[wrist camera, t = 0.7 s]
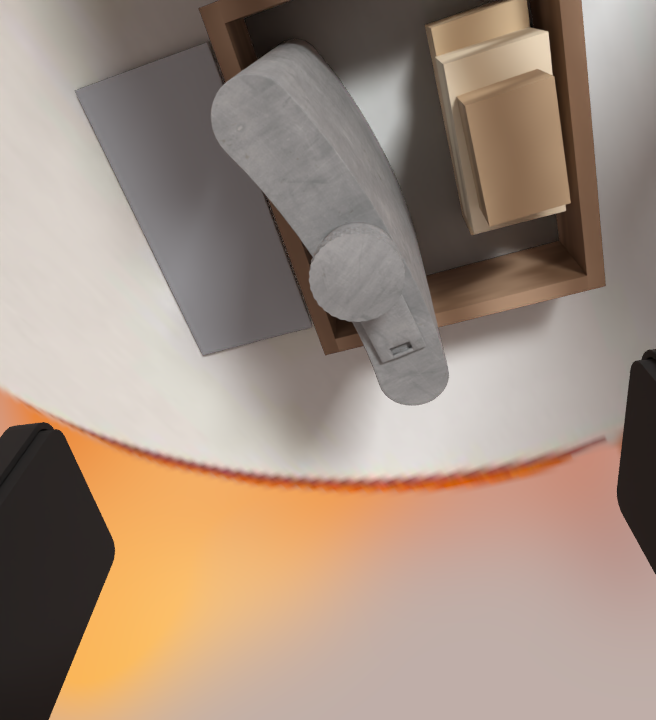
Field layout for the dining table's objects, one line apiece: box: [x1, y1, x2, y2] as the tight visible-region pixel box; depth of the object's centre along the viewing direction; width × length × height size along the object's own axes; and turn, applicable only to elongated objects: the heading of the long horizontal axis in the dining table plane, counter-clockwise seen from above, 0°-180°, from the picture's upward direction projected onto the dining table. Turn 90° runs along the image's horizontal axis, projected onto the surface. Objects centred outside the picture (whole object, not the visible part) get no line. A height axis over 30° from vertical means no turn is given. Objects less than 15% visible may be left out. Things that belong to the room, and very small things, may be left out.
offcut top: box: [456, 69, 571, 226], centre depth 30 cm, size 4×6×3 cm, turn 18°
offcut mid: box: [435, 27, 566, 235], centre depth 33 cm, size 5×9×4 cm, turn 17°
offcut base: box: [425, 0, 530, 235], centre depth 36 cm, size 5×12×4 cm, turn 17°
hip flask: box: [211, 39, 449, 405], centre depth 31 cm, size 16×4×20 cm, turn 31°
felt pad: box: [75, 42, 312, 355], centre depth 42 cm, size 9×20×1 cm, turn 17°
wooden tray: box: [199, 0, 606, 355], centre depth 36 cm, size 18×21×6 cm
